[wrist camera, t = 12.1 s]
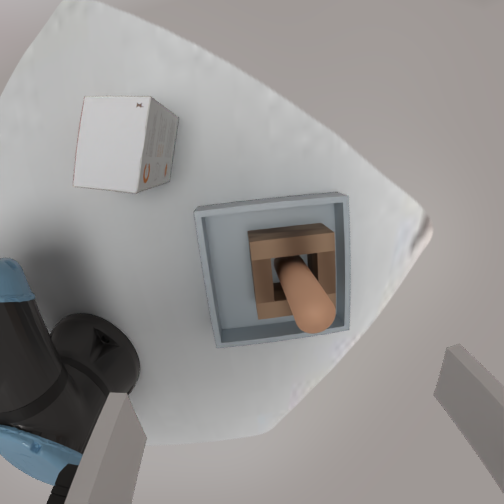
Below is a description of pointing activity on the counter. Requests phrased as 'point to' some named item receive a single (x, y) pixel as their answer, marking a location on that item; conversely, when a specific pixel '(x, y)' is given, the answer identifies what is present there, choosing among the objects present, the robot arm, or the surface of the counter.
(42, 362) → the robot arm
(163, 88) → the counter surface
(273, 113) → the counter surface
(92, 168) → the small box
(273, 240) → the block
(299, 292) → the peg
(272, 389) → the counter surface
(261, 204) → the tray
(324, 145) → the counter surface
